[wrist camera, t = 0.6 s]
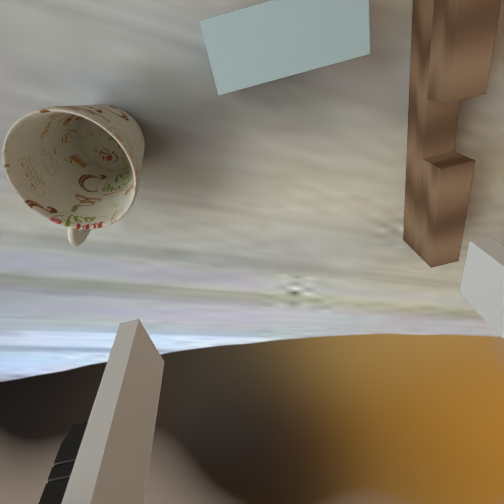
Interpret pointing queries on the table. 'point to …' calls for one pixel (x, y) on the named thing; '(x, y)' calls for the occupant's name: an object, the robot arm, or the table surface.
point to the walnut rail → (443, 119)
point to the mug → (76, 164)
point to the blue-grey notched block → (283, 39)
